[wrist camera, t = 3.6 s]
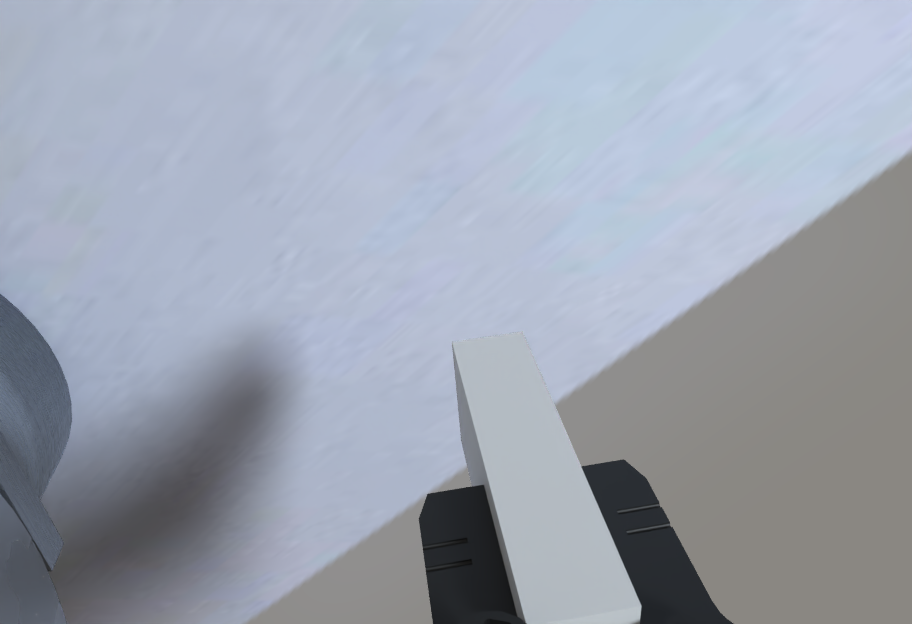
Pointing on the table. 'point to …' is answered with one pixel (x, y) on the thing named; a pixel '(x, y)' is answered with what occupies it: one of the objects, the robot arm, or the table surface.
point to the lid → (24, 576)
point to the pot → (31, 425)
